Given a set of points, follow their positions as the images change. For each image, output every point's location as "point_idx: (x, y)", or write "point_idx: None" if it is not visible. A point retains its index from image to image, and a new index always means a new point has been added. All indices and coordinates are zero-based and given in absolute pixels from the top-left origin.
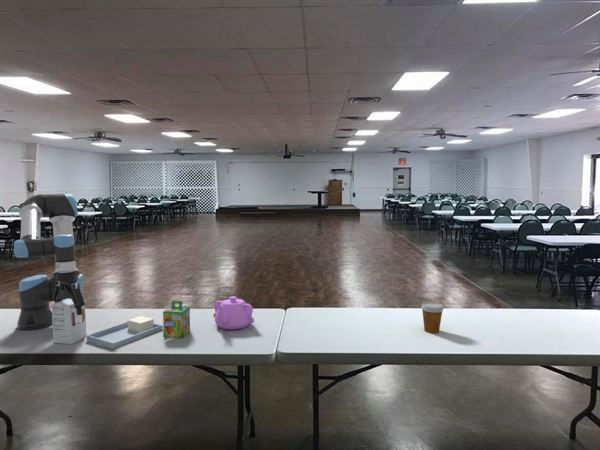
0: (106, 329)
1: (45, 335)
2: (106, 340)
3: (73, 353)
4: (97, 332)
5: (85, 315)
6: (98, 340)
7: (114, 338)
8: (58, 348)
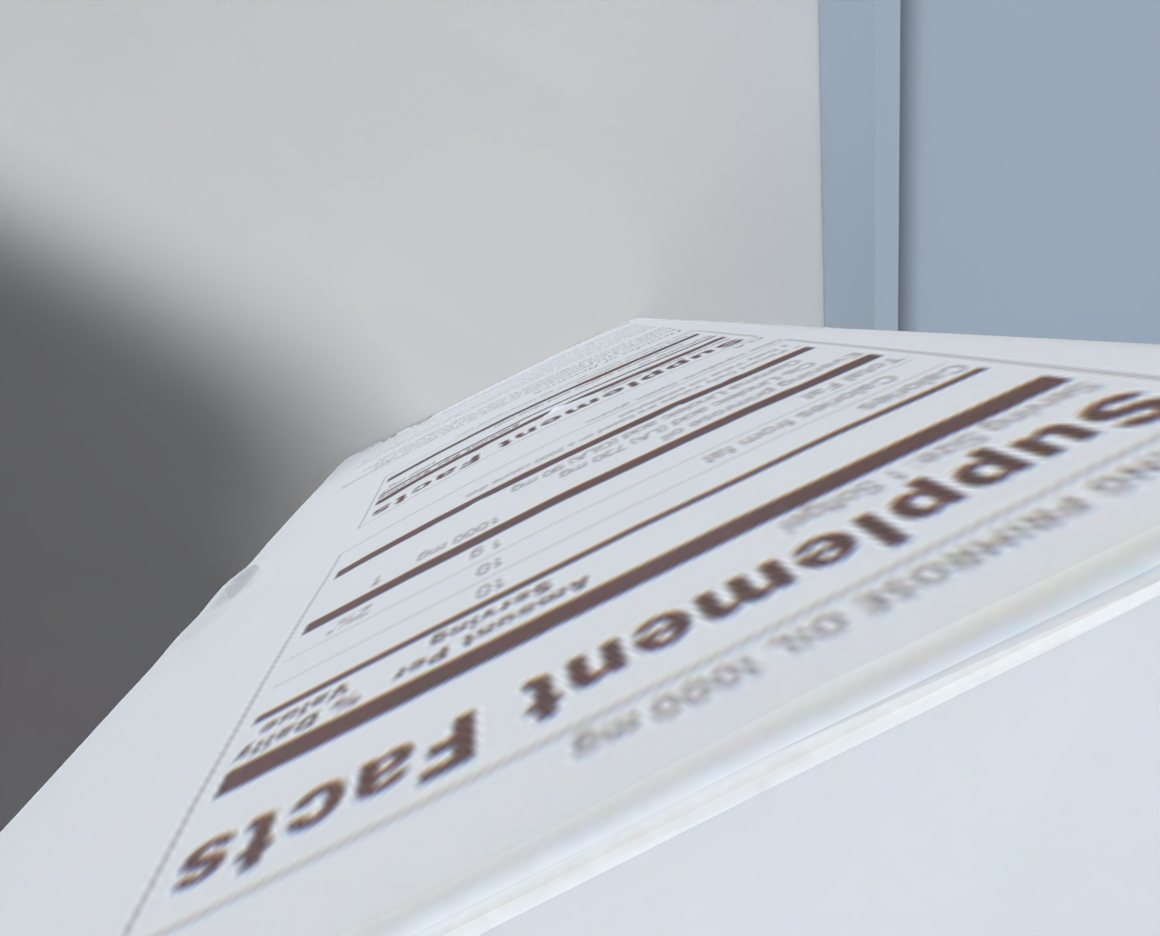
0: (896, 25)
1: (33, 695)
2: (1105, 245)
3: None
4: (894, 229)
5: (793, 326)
6: None
7: (1144, 117)
8: None
